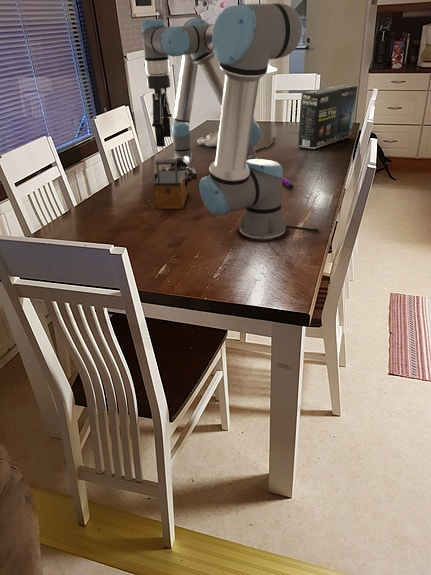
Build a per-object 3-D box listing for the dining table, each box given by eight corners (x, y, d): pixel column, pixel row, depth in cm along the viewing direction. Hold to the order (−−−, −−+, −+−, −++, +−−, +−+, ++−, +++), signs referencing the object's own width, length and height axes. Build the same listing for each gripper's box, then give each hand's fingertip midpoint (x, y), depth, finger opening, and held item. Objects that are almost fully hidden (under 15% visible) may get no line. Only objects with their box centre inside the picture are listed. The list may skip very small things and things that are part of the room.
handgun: (261, 176, 200) (261, 171, 199) (278, 174, 201) (278, 169, 200) (275, 191, 183) (275, 186, 182) (294, 188, 184) (294, 184, 183)
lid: (180, 185, 165) (178, 160, 160) (154, 185, 166) (151, 161, 161) (185, 173, 177) (183, 149, 173) (160, 173, 178) (158, 150, 174)
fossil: (220, 142, 238) (201, 123, 241) (210, 159, 244) (191, 141, 248) (238, 140, 252) (219, 123, 255) (227, 157, 258) (210, 139, 261)
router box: (314, 151, 231) (318, 94, 217) (296, 148, 237) (299, 92, 224) (352, 138, 251) (358, 85, 238) (335, 135, 258) (340, 83, 245)
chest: (182, 208, 170) (180, 185, 166) (156, 208, 171) (154, 185, 166) (186, 195, 182) (185, 173, 177) (163, 195, 183) (160, 173, 178)
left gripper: (206, 174, 197) (201, 192, 178) (155, 175, 199) (145, 192, 180) (205, 156, 193) (200, 173, 174) (153, 157, 195) (143, 173, 176)
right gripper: (153, 70, 159) (159, 133, 170) (138, 79, 138) (146, 150, 149) (174, 69, 159) (179, 132, 170) (163, 79, 138) (169, 150, 149)
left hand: (172, 183), depth 177 cm, fingers closed on chest, 10 cm apart
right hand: (164, 141), depth 159 cm, fingers open, 13 cm apart
